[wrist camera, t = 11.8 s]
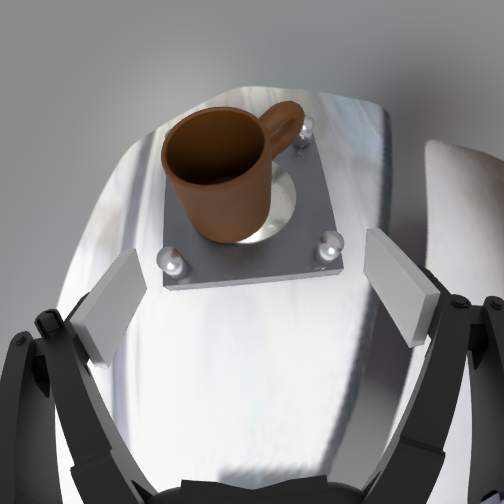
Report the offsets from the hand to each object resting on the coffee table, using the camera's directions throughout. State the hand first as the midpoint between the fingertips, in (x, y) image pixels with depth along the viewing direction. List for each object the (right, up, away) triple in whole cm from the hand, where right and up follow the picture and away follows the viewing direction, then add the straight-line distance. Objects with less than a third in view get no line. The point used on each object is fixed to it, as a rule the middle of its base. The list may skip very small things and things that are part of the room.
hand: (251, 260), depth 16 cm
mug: (0, +6, +12) cm, 13 cm away
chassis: (-1, +5, +13) cm, 14 cm away
